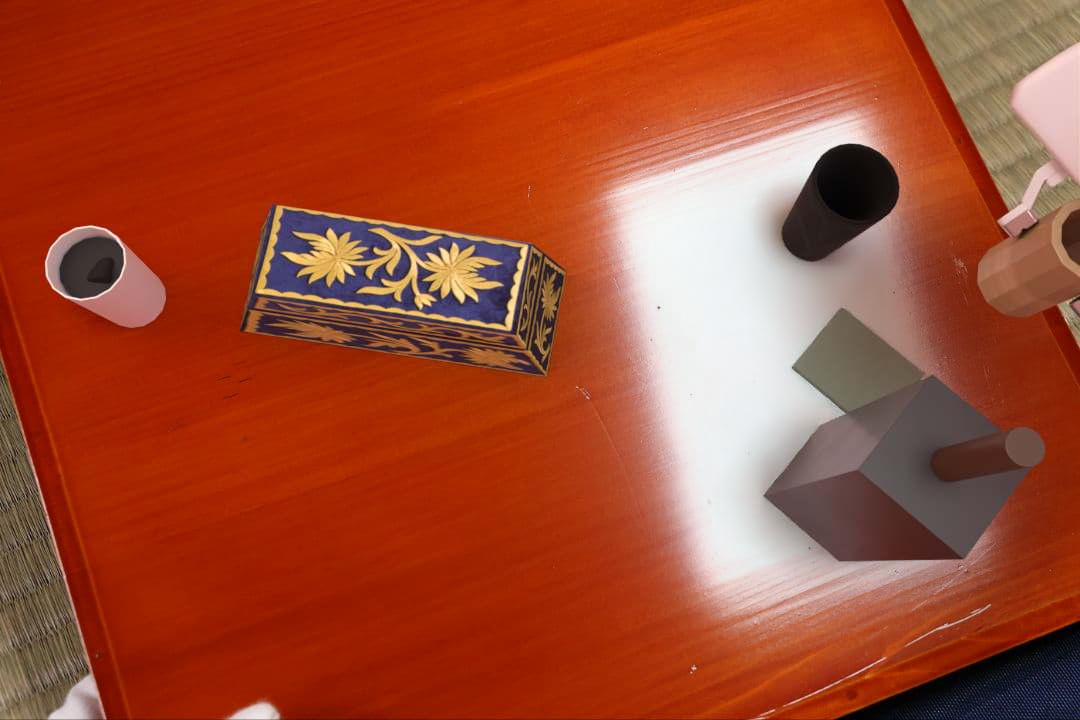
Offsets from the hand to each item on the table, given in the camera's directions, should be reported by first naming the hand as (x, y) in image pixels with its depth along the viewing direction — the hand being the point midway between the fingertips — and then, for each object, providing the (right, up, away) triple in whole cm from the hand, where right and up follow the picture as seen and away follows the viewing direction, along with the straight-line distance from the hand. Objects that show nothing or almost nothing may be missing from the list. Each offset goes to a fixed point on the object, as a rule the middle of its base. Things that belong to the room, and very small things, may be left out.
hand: (1040, 271), depth 54 cm
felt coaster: (-1, -7, +29) cm, 30 cm away
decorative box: (-44, 0, +29) cm, 53 cm away
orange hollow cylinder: (+1, 0, +4) cm, 5 cm away
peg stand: (-4, -18, +26) cm, 32 cm away
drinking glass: (-70, 0, +28) cm, 75 cm away
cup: (-4, +7, +33) cm, 34 cm away
